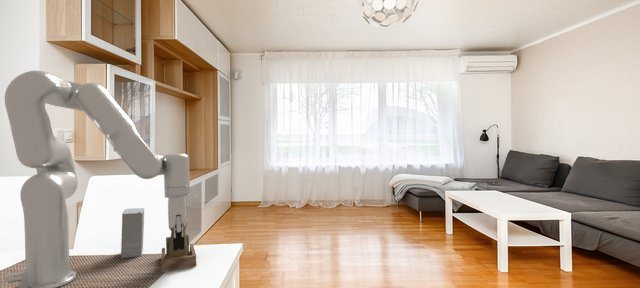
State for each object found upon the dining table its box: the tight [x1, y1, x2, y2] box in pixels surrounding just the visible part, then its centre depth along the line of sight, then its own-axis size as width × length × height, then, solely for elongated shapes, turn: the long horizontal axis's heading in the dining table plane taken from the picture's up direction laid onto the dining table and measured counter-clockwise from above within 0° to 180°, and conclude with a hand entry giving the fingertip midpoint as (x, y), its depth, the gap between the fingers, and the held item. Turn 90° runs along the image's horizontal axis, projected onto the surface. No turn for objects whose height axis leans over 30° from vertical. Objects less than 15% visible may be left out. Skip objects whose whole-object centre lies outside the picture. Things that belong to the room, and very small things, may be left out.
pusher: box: [165, 234, 190, 256], centre depth 111 cm, size 7×1×6 cm, turn 116°
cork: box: [168, 222, 189, 257], centre depth 104 cm, size 6×6×11 cm
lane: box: [160, 243, 197, 273], centre depth 106 cm, size 10×14×3 cm
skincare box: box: [120, 207, 145, 259], centre depth 114 cm, size 8×7×16 cm
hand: (178, 247), depth 103 cm, fingers closed on cork, 3 cm apart
